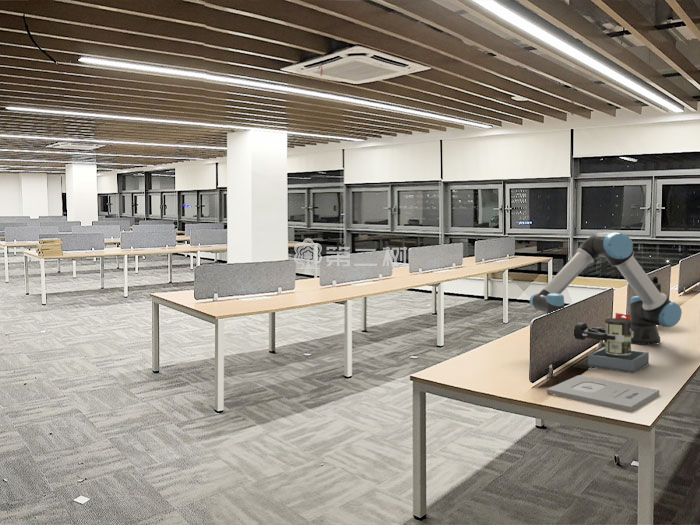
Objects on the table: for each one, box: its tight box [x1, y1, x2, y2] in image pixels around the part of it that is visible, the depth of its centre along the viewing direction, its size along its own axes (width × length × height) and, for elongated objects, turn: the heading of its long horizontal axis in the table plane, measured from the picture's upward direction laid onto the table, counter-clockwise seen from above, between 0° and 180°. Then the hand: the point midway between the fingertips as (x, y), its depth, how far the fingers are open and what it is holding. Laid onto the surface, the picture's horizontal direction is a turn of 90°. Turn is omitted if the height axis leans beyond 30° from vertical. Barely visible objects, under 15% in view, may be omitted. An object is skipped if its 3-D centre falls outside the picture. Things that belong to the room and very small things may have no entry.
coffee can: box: [604, 317, 632, 356], centre depth 248 cm, size 10×10×14 cm
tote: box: [587, 346, 650, 374], centre depth 249 cm, size 18×18×5 cm
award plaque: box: [546, 374, 660, 413], centre depth 211 cm, size 25×30×2 cm
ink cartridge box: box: [615, 312, 630, 320], centre depth 314 cm, size 2×11×10 cm, turn 25°
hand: (628, 336), depth 245 cm, fingers closed on coffee can, 10 cm apart
